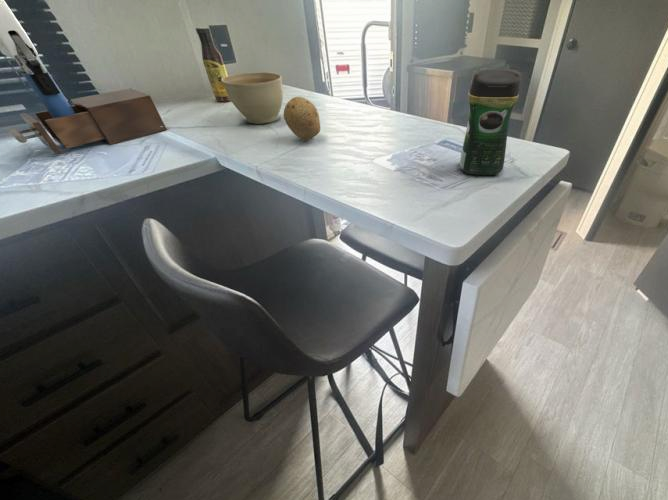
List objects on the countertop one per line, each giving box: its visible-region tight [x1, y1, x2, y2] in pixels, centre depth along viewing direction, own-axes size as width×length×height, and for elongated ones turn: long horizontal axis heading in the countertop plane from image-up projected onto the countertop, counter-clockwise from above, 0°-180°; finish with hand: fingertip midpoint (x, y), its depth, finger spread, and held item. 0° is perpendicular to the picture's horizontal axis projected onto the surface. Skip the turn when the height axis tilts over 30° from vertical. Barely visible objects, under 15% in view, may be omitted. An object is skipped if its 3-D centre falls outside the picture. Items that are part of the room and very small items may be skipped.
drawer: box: [8, 104, 106, 155], centre depth 79 cm, size 18×11×7 cm, turn 142°
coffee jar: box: [459, 68, 521, 176], centre depth 65 cm, size 10×8×19 cm
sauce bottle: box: [195, 26, 232, 103], centre depth 105 cm, size 6×6×20 cm
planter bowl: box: [221, 71, 284, 125], centre depth 93 cm, size 16×16×11 cm
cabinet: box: [70, 88, 167, 145], centre depth 86 cm, size 15×13×9 cm
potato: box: [283, 96, 321, 142], centre depth 81 cm, size 9×9×10 cm
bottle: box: [22, 65, 75, 118], centre depth 76 cm, size 5×5×12 cm
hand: (48, 91), depth 75 cm, fingers closed on bottle, 4 cm apart
